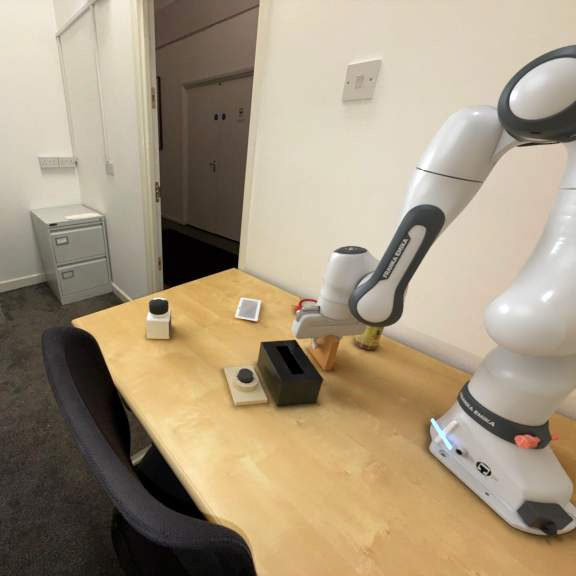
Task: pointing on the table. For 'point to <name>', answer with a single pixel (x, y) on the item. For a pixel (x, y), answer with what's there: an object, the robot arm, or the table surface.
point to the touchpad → (248, 309)
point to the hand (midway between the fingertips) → (323, 346)
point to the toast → (325, 351)
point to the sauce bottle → (369, 338)
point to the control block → (244, 387)
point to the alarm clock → (305, 304)
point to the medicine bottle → (158, 319)
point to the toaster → (289, 373)
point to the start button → (245, 375)
